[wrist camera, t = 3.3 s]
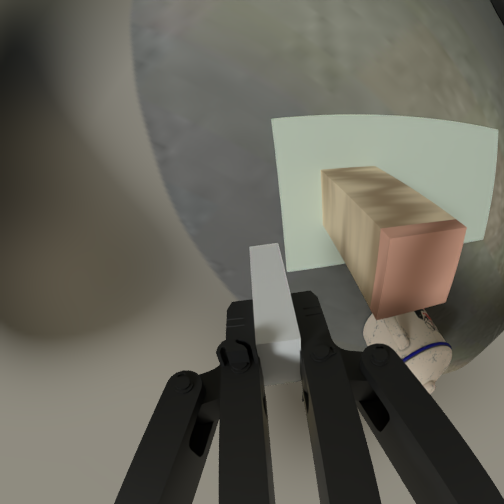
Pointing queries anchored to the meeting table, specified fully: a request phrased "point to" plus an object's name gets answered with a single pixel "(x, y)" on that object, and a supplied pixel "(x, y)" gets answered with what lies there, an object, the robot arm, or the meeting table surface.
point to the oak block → (390, 239)
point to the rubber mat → (387, 159)
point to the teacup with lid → (412, 343)
